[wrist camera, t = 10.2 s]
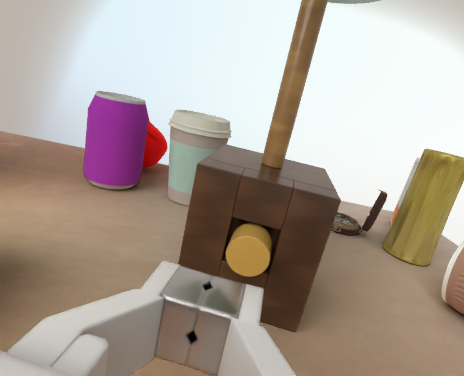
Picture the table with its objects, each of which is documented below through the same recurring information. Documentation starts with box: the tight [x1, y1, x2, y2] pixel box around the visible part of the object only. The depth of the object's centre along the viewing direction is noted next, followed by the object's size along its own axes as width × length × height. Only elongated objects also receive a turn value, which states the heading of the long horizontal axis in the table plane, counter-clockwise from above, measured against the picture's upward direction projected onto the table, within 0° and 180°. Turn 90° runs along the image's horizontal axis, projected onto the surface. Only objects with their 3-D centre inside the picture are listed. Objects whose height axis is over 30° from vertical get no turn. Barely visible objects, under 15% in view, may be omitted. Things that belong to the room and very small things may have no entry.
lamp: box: [178, 0, 379, 332], centre depth 25 cm, size 11×11×33 cm
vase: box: [383, 149, 464, 266], centre depth 41 cm, size 6×6×14 cm
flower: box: [142, 120, 167, 167], centre depth 53 cm, size 8×8×8 cm
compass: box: [331, 190, 387, 235], centre depth 46 cm, size 8×8×7 cm
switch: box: [226, 223, 272, 277], centre depth 22 cm, size 3×2×3 cm
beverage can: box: [84, 91, 149, 189], centre depth 43 cm, size 8×8×12 cm
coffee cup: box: [168, 110, 231, 206], centre depth 44 cm, size 8×9×12 cm
